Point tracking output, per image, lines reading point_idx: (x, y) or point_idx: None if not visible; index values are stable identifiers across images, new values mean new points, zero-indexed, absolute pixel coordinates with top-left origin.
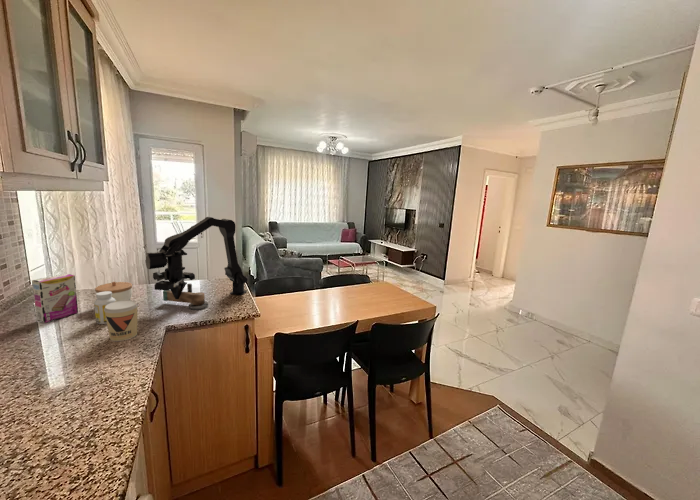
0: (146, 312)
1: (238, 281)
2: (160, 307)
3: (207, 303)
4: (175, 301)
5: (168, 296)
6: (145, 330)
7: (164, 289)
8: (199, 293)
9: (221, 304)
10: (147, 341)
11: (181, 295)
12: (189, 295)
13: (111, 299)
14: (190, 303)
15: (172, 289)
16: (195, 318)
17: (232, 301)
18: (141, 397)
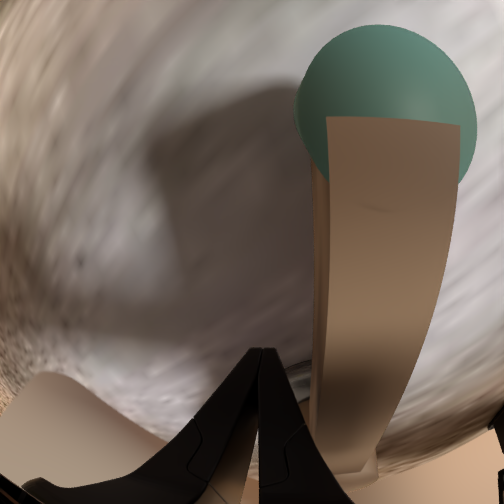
0: (68, 136)
1: (498, 486)
2: (198, 139)
3: None
4: (314, 266)
5: (317, 186)
6: (8, 322)
7: (3, 484)
8: (347, 484)
9: None
10: (9, 363)
11: (316, 400)
12: None
13: None
14: None
15: (169, 481)
16: (176, 431)
17: (415, 447)
18: (3, 407)
